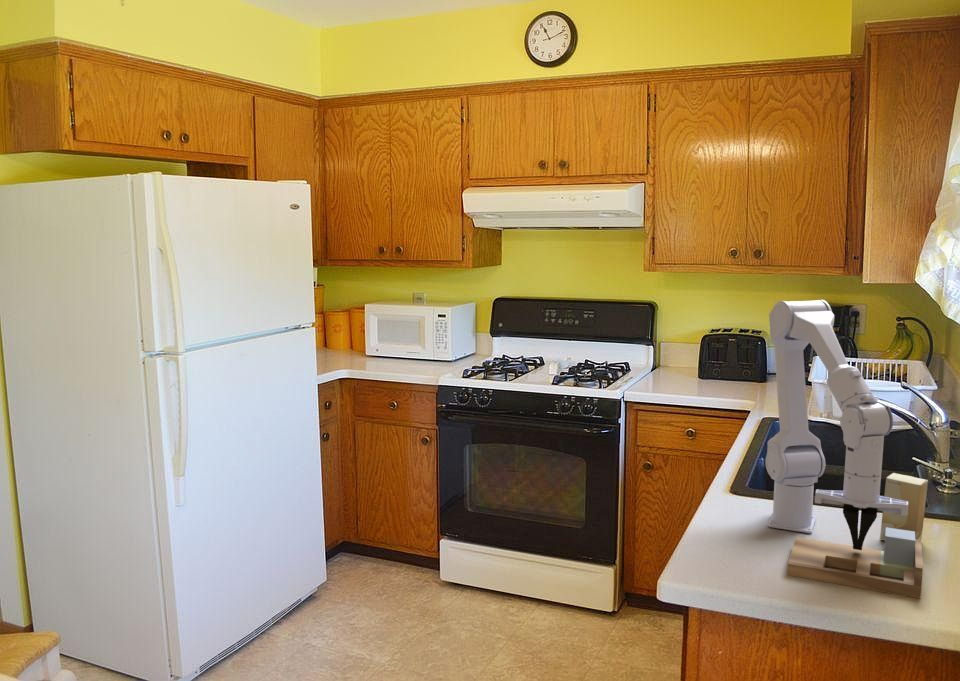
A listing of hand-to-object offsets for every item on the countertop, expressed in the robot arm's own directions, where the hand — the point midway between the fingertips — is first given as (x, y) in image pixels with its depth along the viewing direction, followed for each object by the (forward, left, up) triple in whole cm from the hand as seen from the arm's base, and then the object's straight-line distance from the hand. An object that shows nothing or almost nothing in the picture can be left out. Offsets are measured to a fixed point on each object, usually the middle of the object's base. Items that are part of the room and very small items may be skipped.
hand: (857, 547), depth 145 cm
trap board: (+4, 0, -3) cm, 5 cm away
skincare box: (-15, +7, -3) cm, 17 cm away
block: (0, +6, -1) cm, 6 cm away
